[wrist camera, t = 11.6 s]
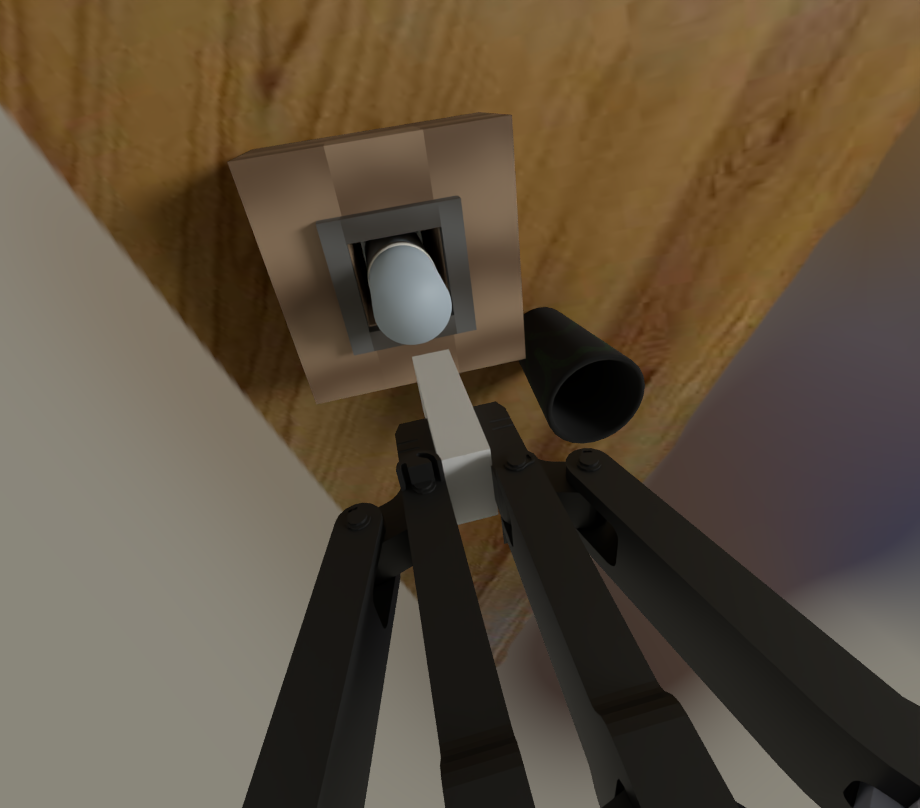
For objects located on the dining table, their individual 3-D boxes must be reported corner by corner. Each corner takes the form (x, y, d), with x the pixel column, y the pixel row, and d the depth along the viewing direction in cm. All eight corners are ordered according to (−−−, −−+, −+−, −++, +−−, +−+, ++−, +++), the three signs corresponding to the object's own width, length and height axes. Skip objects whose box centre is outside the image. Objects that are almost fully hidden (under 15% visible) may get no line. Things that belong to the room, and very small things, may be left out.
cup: (507, 380, 46) (553, 456, 36) (493, 310, 42) (540, 375, 32) (580, 357, 46) (645, 426, 37) (574, 285, 42) (645, 341, 32)
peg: (357, 226, 34) (363, 277, 25) (417, 215, 35) (446, 261, 25) (371, 284, 37) (381, 352, 27) (427, 274, 37) (457, 337, 28)
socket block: (251, 149, 32) (223, 164, 24) (478, 112, 33) (517, 115, 26) (321, 355, 41) (315, 411, 33) (497, 318, 42) (529, 364, 35)
